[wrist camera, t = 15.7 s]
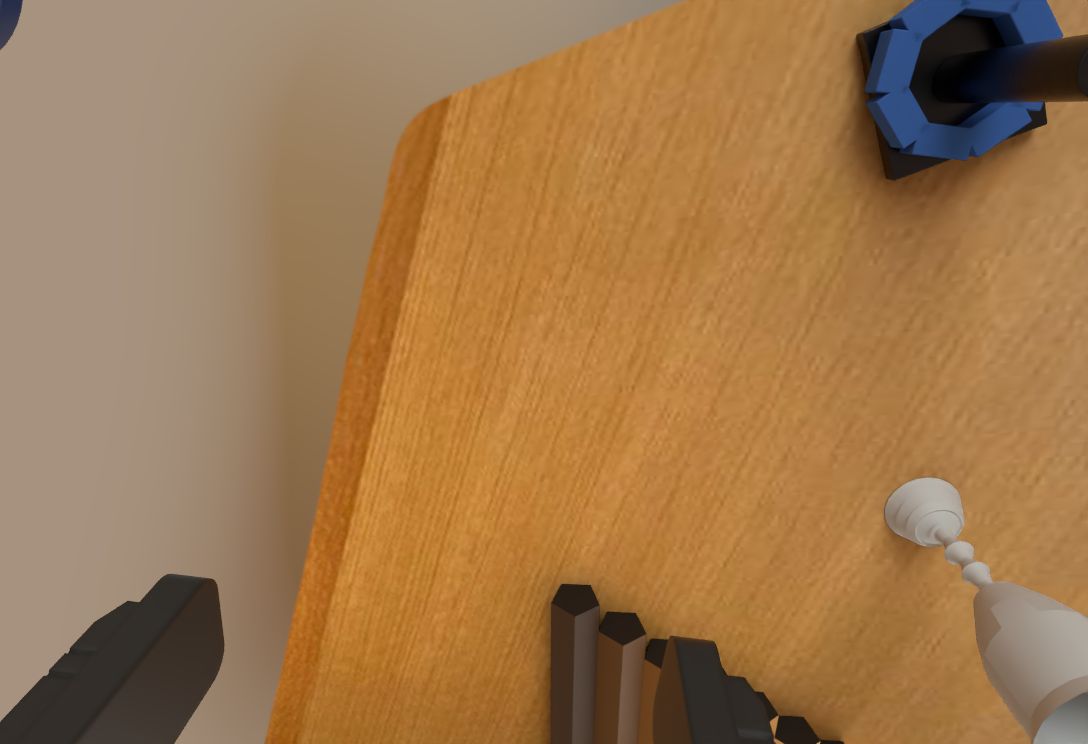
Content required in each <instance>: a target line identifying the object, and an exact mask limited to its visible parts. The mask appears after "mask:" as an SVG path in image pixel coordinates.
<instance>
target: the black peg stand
mask: <svg viewBox="0 0 1088 744" xmlns="http://www.w3.org/2000/svg"><path fill="white" fill-rule="evenodd" d="M888 30H892V28H891V26H890V25H889V23H888V21H887V22H885V23H883V24H880V25H878V26H875V27H873V28H871V29H868V30H866V31H864V32H861V33H859V34H857V40H858V45H859V50H860V55H861V59H862V64H863V69H864V74H865V79H866V83H867V80H868V76H869V73H870V69H871V65H872V62H873V58H874V55H875V51H876V47H877V44H878V40H879V36H880V33H881V32H884V31H888ZM909 89H910V91H911V92H912V94H913V96H914V98H915V99H916V101H917V103H918V105H919V107H920V108H921V110H922V112H923V114H924V115H925V117H926V119H927V121H928V123H934V124H943V125H951V126H958V125H959V124H961V123H962V122H964V121H965V120H966V119H968V118H969V117H971V116H972V115H974V114H975V113H977V112H978V111H979V110H981V109H982V108H984V107H985V106H987V105H988V104H989V103H1016V102H1043V105H1042V108H1041V110H1040V111H1027V112H1028V114H1029V116H1030V118H1031V120H1032V121H1031V122H1030V123H1028V124H1027V125H1025V126H1024V127H1022V128H1021V129H1019V130H1018V131H1016V132H1015V133H1013V134H1012V135H1010V136H1009V137H1007V138H1006V139H1008V138H1011V137H1013V136H1016V135H1019V134H1021V133H1024V132H1027V131H1029V130H1032V129H1035V128H1038V127H1040V126H1043V125H1046V124H1047V117H1046V109H1045V102H1074V101H1088V34H1087V35H1080V36H1074V37H1067V38H1060V39H1054V40H1047V41H1041V42H1034V43H1027V44H1021V45H1014V46H1008V47H1006V45H1005V43H1004V41H1003V39H1002V37H1001V36H1000V34H999V32H998V30H997V28H996V26H995V24H994V22H993V20H992V18H985V17H976V16H967V15H956V16H955V17H954V18H952V19H951V20H950V21H948V22H947V23H946V24H944V25H943V26H942V27H940V28H939V29H938V30H936V31H935V32H934V33H932V34H931V35H929V36H928V37H927V38H925V39H924V40H923V41H922V44H921V48H920V51H919V54H918V58H917V61H916V64H915V68H914V71H913V74H912V78H911V81H910V84H909ZM875 95H876V94H873V93H869V98H870V99H871V98H872V97H874V96H875ZM874 122H875V127H876V132H877V137H878V141H879V146H880V151H881V156H882V161H883V165H884V170H885V175H886V179H889V180H893V181H894V180H897V179H900V178H902V177H905V176H908V175H911V174H913V173H916V172H919V171H921V170H924V169H927V168H929V167H932V166H935V165H938V164H940V163H943V162H946V161H948V160H951V159H947V158H939V157H931V156H922V155H914V154H906V153H900V148H895V147H891V146H890V145H889V143H888V141H887V140H886V138H885V136H884V134H883V133H882V131H881V129H880V128H879V126H878V124H877V123H876V121H875V119H874ZM1004 140H1005V139H1004Z"/></svg>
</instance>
